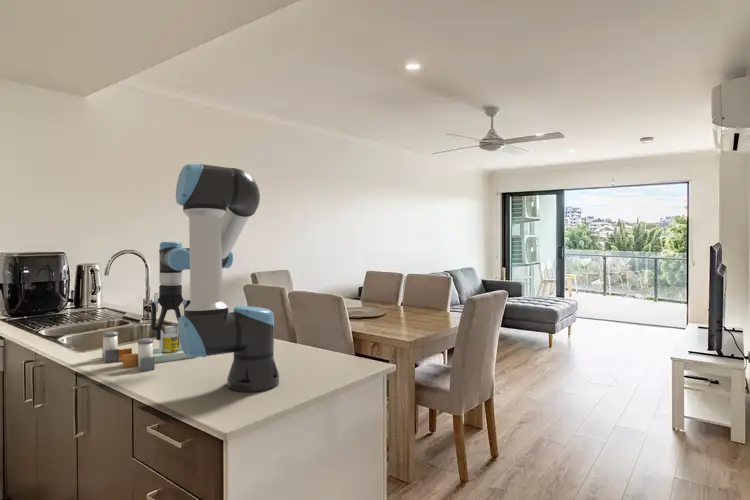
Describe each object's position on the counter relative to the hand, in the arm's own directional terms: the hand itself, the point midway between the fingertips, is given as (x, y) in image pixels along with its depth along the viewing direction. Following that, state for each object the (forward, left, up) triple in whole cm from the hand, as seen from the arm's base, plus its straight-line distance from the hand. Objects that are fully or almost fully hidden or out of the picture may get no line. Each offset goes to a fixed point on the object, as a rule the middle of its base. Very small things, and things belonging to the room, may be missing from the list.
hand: (170, 347), depth 165 cm
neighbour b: (+8, +18, -3) cm, 20 cm away
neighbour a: (-10, +10, -3) cm, 15 cm away
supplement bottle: (0, 0, -3) cm, 3 cm away
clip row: (-1, +14, -3) cm, 14 cm away
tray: (0, 0, -3) cm, 3 cm away
